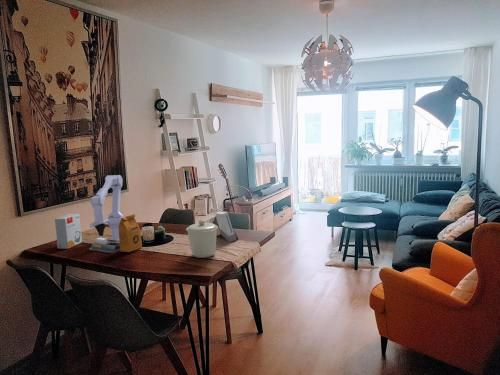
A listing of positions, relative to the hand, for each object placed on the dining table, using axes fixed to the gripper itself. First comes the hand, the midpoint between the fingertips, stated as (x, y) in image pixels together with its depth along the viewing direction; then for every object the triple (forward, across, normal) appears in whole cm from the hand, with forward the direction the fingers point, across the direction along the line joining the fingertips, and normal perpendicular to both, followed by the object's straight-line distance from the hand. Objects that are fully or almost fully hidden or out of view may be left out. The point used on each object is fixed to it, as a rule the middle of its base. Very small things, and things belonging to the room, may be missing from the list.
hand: (101, 235), depth 246 cm
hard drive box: (+8, +3, -26) cm, 28 cm away
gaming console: (+8, -47, +66) cm, 81 cm away
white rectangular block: (+7, 0, 0) cm, 7 cm away
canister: (+8, -10, +71) cm, 72 cm away
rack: (+8, 0, +5) cm, 9 cm away
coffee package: (+8, -3, +22) cm, 23 cm away
